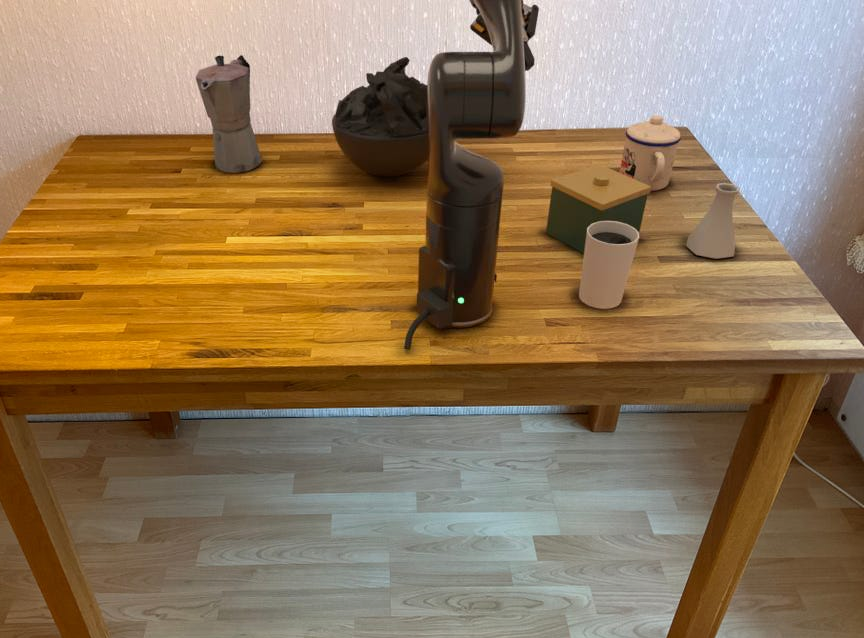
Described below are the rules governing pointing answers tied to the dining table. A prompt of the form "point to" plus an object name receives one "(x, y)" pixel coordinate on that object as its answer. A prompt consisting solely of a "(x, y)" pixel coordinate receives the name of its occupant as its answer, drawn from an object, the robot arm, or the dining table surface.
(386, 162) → the bowl of black rocks
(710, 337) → the dining table surface
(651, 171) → the teacup with lid
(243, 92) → the moka pot
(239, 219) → the dining table surface
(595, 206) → the tea tin
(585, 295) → the white tumbler cup
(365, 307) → the dining table surface
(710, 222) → the flask
